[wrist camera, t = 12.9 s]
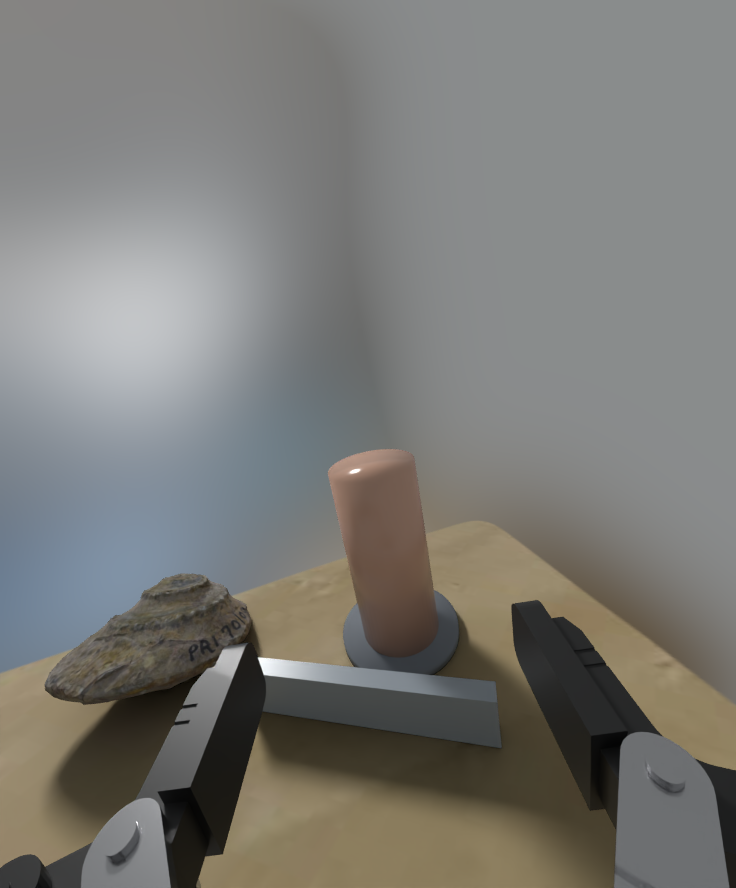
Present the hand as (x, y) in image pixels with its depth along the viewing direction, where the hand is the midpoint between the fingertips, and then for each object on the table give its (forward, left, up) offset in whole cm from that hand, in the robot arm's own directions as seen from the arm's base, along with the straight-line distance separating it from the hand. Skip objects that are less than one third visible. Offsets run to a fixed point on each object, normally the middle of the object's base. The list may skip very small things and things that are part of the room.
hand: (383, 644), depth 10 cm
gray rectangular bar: (-4, +5, -11) cm, 12 cm away
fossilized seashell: (-19, +6, -11) cm, 23 cm away
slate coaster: (-3, +11, -11) cm, 15 cm away
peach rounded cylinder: (-3, +11, -10) cm, 15 cm away
